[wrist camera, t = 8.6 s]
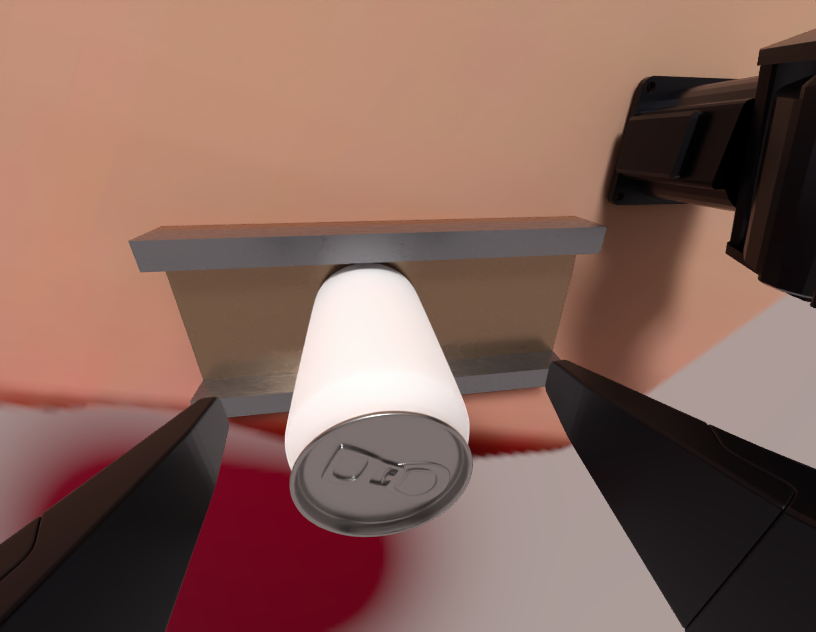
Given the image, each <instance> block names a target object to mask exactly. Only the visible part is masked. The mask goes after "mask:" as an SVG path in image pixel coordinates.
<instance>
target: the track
mask: <svg viewBox="0 0 816 632" xmlns="http://www.w3.org/2000/svg"><path fill="white" fill-rule="evenodd" d="M606 229H607V227H606V226H603V225H600V224H597V223H594V222H591V221H588V220H585V219H582V218H579V217H576V216H569V217H528V218H487V219H446V220H405V221H364V222H323V223H282V224H241V225H200V226H161V227H159V228H157V229H154V230H152V231H150V232H148V233H145V234H143V235H141V236H139V237H136V238H134V239H132V240H130V241H129V244H130V247H131V249H132V252H133V254H134V257H135V260H136V262H137V265H138V267H139V270H140V272H159V271H166V274H167V277H168V280H169V282H170V285H171V288H172V291H173V294H174V297H175V300H176V303H177V305H178V308H179V311H180V314H181V317H182V320H183V323H184V326H185V328H186V331H187V334H188V337H189V340H190V343H191V346H192V349H193V351H194V354H195V357H196V360H197V363H198V366H199V369H200V372H201V374H202V377H203V382H202V383H201V385H200V387H199V388H198V390H197V391H196V393H195V395H194V396H193V398H192V399H191V401H190V402H191V405H192V404H193V403H195V402H196V401H197V400H199V399H201V398H207V397H218V398H220V400H221V401H222V404H223V407H224V410H225V412H226V415H227V417H237V416H248V415H258V414H268V413H278V412H288V411H290V406H291V402H292V397H293V392H294V388H295V384H296V379H297V375H298V370H299V366H300V361H301V357H302V352H303V348H304V344H305V339H306V335H307V331H308V326H309V322H310V318H311V314H312V310H313V306H314V302H315V299H316V296H317V294H318V291H319V290H320V288H321V286H322V285H323V284H324V282H325V281H326V280H327V279H328V278H329V277H330V276H331V275H333V274H334V273H335V272H337V271H339V270H341V269H343V268H345V267H347V266H350V265H354V264H359V263H376V264H381V265H385V266H388V267H390V268H392V269H394V270H396V271H398V272H399V273H401V274H402V275H403V276H404V277H405V278H406V279H407V280H408V281H409V282H410V283H411V285H412V286H413V288H414V289H415V291H416V293H417V295H418V297H419V299H420V302H421V304H422V306H423V308H424V311H425V313H426V315H427V317H428V320H429V322H430V324H431V326H432V329H433V331H434V333H435V335H436V338H437V340H438V342H439V345H440V347H441V349H442V351H443V354H444V356H445V358H446V361H447V363H448V365H449V368H450V370H451V372H452V374H453V377H454V379H455V381H456V384H457V386H458V389H459V391H460V393H461V394H471V393H481V392H491V391H501V390H512V389H522V388H532V387H542V386H545V383H546V379H547V374H548V370H549V365H550V363H551V362H553V361H558V360H560V358H559V357H558V356H557V355H556V354H555V353H554V352H553V351H552V350H553V346H554V342H555V338H556V334H557V330H558V326H559V322H560V318H561V314H562V310H563V306H564V302H565V298H566V294H567V290H568V286H569V282H570V277H571V273H572V269H573V265H574V261H575V257H576V254H595V253H600V250H601V247H602V243H603V240H604V236H605V233H606Z"/></svg>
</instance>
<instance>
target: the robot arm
mask: <svg viewBox="0 0 816 632" xmlns="http://www.w3.org/2000/svg"><path fill="white" fill-rule="evenodd" d="M759 65H760V71H759V76H755V77H749V78H743V79H721V78H695V77H670V76H652V77H647V78H644V79H643V80H641V82H640V83H639V84H638V87H637V90H636V94H635V97H634V101H633V105H632V108H631V112H630V116H629V119H628V123H627V127H626V131H625V134H624V138H623V142H622V145H621V149H620V153H619V157H618V160H617V164H616V168H615V171H614V175H613V179H612V182H611V186H610V190H609V194H608V202H610V203H611V204H616V205H639V204H689V203H690V204H695V205H701V206H707V207H712V208H718V209H723V210H729V211H734V212H735V215H734V221H733V227H732V233H731V238H730V241H729V242H727V246H726V252H725V253H726V254H727V255H729V256H730V257H732V258H733V259H735V260H736V261H738V262H739V263H741V264H743V265H744V266H746V267H747V268H749V269H750V270H752V271H753V272H755V273H756V274H758V280H759V281H760V282H762V283H764V284H765V285H768V286H770V287H772V288H775V289H777V290H780V291H783V292H785V293H787V294H789V295H791V296H794V297H797V298H799V299H801V300H803V301H807V302H811V303H810V306H811V307H813V308H816V29H813V30H811V31H808V32H805V33H803V34H800V35H797V36H794V37H792V38H789V39H786V40H784V41H781V42H778V43H775V44H773V45H770V46H767V47H765V48H762V49H760V51H759V57H758V63H757V66H759ZM648 84H649V85H650V88H649V91H648V92H647V90H646V89H647V86H648ZM618 193H619V197H618V198H617V199H616V195H617V194H618ZM545 387H546V392H547V394H548V396H549V398H550V400H551V403H552V405H553V407H554V409H555V411H556V413H557V415H558V417H559V419H560V422H561V424H562V426H563V428H564V430H565V432H566V434H567V436H568V438H569V440H570V441H571V443H572V445H573V447H574V448H575V450H576V451H577V453H578V455H579V457H580V458H581V460H582V461H583V463H584V465H585V466H586V468H587V470H588V471H589V473H590V475H591V476H592V478H593V479H594V481H595V483H596V485H597V486H598V488H599V489H600V491H601V493H602V495H603V496H604V498H605V499H606V501H607V503H608V504H609V506H610V508H611V509H612V511H613V513H614V514H615V516H616V518H617V519H618V521H619V523H620V524H621V526H622V527H623V529H624V531H625V532H626V534H627V536H628V537H629V539H630V541H631V542H632V544H633V546H634V547H635V549H636V551H637V552H638V554H639V556H640V557H641V559H642V560H643V562H644V564H645V565H646V567H647V569H648V571H649V572H650V574H651V575H652V577H653V579H654V580H655V582H656V584H657V585H658V587H659V589H660V590H661V592H662V594H663V595H664V597H665V599H666V600H667V602H668V604H669V605H670V607H671V609H672V610H673V612H674V613H675V615H676V617H677V618H678V620H679V622H680V623H681V625H682V627H683V628H685V632H816V469H815V468H812V467H810V466H807V465H805V464H802V463H800V462H797V461H795V460H792V459H790V458H787V457H785V456H782V455H780V454H777V453H775V452H773V451H770V450H767V449H765V448H763V447H760V446H758V445H756V444H753V443H751V442H749V441H746V440H744V439H742V438H739V437H737V436H735V435H733V434H730V433H728V432H726V431H724V430H721V429H719V428H717V427H715V426H712V425H707V424H706V423H705V422H703V421H701V420H699V419H697V418H695V417H692V416H690V415H688V414H686V413H683V412H681V411H679V410H677V409H674V408H672V407H670V406H667V405H666V404H663V403H661V402H659V401H657V400H654V399H652V398H650V397H648V396H645V395H643V394H641V393H639V392H637V391H634V390H632V389H630V388H628V387H625V386H623V385H621V384H619V383H616V382H614V381H612V380H610V379H608V378H605V377H603V376H601V375H599V374H596V373H594V372H592V371H590V370H588V369H585V368H583V367H581V366H579V365H576V364H574V363H572V362H570V361H567V360H558V361H553V362H551V363H550V365H549V370H548V374H547V379H546V383H545ZM228 429H229V421H228V418H227V415H226V412H225V410H224V407H223V404H222V401H221V400H220V398H218V397H207V398H201V399H199V400H197V401H196V402H195V403H193V404H192V405H191V406H189V407H188V408H187V409H185V410H184V411H182V412H181V413H180V414H178V415H177V416H176V417H174V418H173V419H171V420H170V421H169V422H168V423H166V424H165V425H164V426H162V427H160V428H159V429H158V430H156V431H155V432H154V433H152V434H151V435H150V436H148V437H147V438H145V439H144V440H143V441H142V442H140V443H139V444H137V445H136V446H134V447H133V448H132V449H130V450H129V451H128V452H127V453H125V454H123V455H122V456H121V457H119V458H118V459H117V460H115V461H114V462H113V463H111V464H110V465H108V466H107V467H106V468H104V469H103V470H102V471H101V472H99V473H97V474H96V475H95V476H93V477H92V478H91V479H89V480H88V481H87V482H85V483H84V484H82V485H81V486H80V487H78V488H77V489H75V490H74V491H73V492H71V493H70V494H69V495H67V496H66V497H65V498H63V499H62V500H60V501H59V502H58V503H56V504H55V505H54V506H52V507H51V508H50V509H48V510H47V511H45V512H44V513H43V514H42V516H41V517H37V518H36V519H34V520H33V521H31V522H30V523H29V524H27V525H26V526H25V527H23V528H22V529H21V530H19V531H18V532H17V533H15V534H14V535H12V536H11V537H10V538H8V539H7V540H5V541H4V542H3V543H1V544H0V632H165V630H166V627H167V624H168V622H169V619H170V615H171V613H172V610H173V607H174V604H175V601H176V599H177V596H178V593H179V590H180V587H181V584H182V581H183V579H184V576H185V573H186V570H187V567H188V564H189V561H190V558H191V555H192V553H193V550H194V547H195V544H196V541H197V538H198V535H199V533H200V530H201V527H202V524H203V521H204V518H205V515H206V512H207V510H208V507H209V504H210V501H211V498H212V494H213V492H214V488H215V485H216V481H217V478H218V473H219V469H220V465H221V460H222V456H223V451H224V447H225V443H226V438H227V434H228Z"/></svg>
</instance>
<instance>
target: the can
mask: <svg viewBox="0 0 816 632" xmlns="http://www.w3.org/2000/svg"><path fill="white" fill-rule="evenodd" d="M468 441H469V417H468V413H467V410H466V406H465V404H464V401H463V398H462V396H461V393H460V391H459V389H458V386H457V384H456V381H455V379H454V377H453V374H452V372H451V370H450V368H449V365H448V363H447V361H446V358H445V356H444V354H443V351H442V349H441V347H440V345H439V342H438V340H437V338H436V335H435V333H434V331H433V329H432V326H431V324H430V322H429V320H428V317H427V315H426V313H425V311H424V308H423V306H422V304H421V302H420V299H419V297H418V295H417V293H416V291H415V289H414V288H413V286H412V285H411V283H410V282H409V281H408V280H407V279H406V278H405V277H404V276H403V275H402V274H401V273H399V272H398V271H396V270H394V269H392V268H390V267H388V266H385V265H381V264H376V263H359V264H354V265H350V266H347V267H345V268H343V269H341V270H339V271H337V272H335V273H334V274H333V275H331V276H330V277H329V278H328V279H327V280H326V281H325V282H324V284H323V285H322V286H321V288H320V290H319V291H318V294H317V296H316V299H315V302H314V306H313V310H312V314H311V318H310V322H309V326H308V331H307V335H306V339H305V344H304V348H303V352H302V357H301V361H300V366H299V370H298V375H297V379H296V384H295V388H294V392H293V397H292V402H291V406H290V411H289V416H288V421H287V427H286V434H285V451H286V456H287V460H288V463H289V466H290V468H291V471H292V472H291V476H290V493H291V497H292V499H293V502H294V503H295V506H296V507H297V509H298V510H299V511H300V512H301V514H302V515H303V516H304V517H306V518H307V519H308V520H309V521H311V522H312V523H314V524H315V525H317V526H319V527H321V528H323V529H326V530H328V531H331V532H334V533H338V534H343V535H348V536H358V537H374V536H384V535H390V534H396V533H400V532H404V531H407V530H410V529H413V528H416V527H418V526H421V525H423V524H425V523H427V522H429V521H431V520H433V519H434V518H436V517H438V516H439V515H441V514H442V513H444V512H445V511H446V510H447V509H449V508H450V507H451V506H452V505H453V504H454V503H455V502H456V501H457V500H458V498H460V496H461V495H462V494H463V492H464V491H465V489H466V487H467V485H468V483H469V481H470V478H471V474H472V468H473V461H472V454H471V451H470V448H469V446H468Z"/></svg>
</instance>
